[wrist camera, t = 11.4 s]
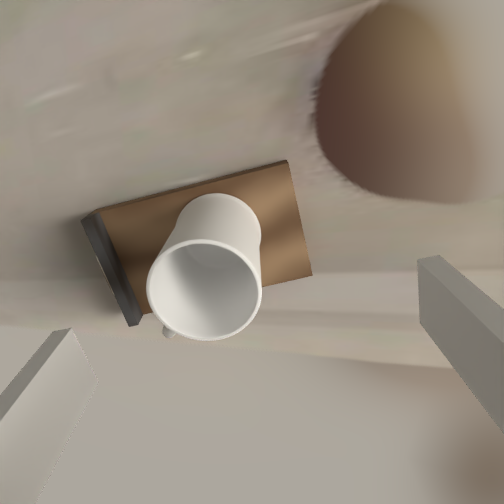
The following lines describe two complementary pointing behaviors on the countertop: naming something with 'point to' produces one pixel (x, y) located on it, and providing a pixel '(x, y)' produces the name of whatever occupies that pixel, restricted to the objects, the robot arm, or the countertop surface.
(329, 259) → the countertop surface
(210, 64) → the countertop surface
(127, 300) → the flat wooden box
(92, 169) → the countertop surface
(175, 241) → the mug
